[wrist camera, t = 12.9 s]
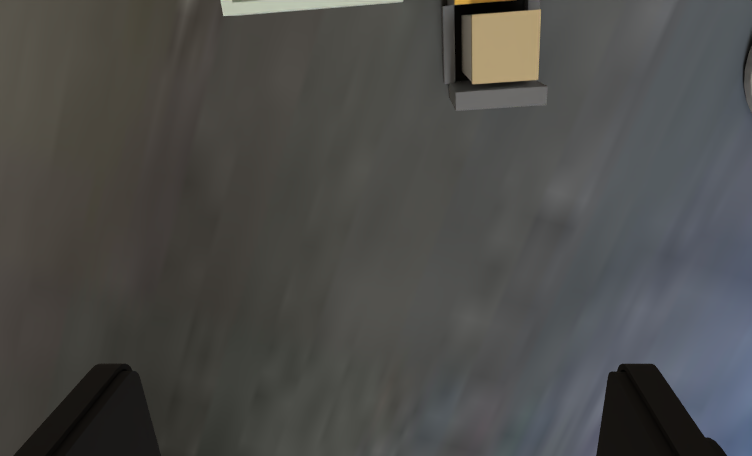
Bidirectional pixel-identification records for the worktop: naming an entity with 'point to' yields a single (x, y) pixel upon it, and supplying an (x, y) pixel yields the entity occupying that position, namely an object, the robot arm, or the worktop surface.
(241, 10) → the tray
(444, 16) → the rail
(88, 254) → the worktop surface
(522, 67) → the cartridges
